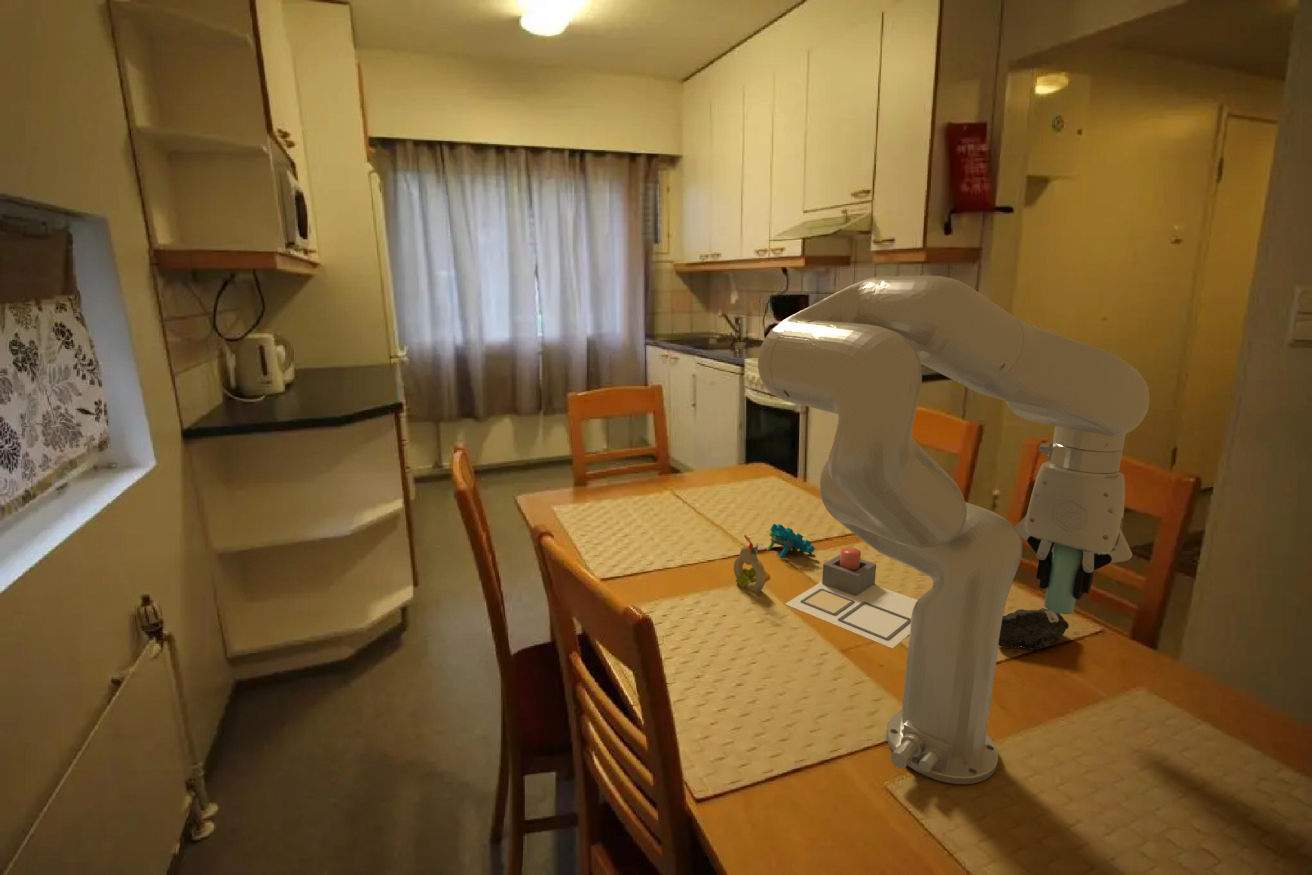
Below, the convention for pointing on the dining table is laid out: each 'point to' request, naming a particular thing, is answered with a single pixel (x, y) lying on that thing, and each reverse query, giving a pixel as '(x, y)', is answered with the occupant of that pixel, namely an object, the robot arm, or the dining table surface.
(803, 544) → the toy dinosaur
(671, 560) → the dining table surface
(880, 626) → the cream board with squares
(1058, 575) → the cylinder
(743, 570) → the grey ring ornament
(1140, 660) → the dining table surface
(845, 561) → the button
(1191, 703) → the dining table surface
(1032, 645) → the rock
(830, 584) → the button collar
